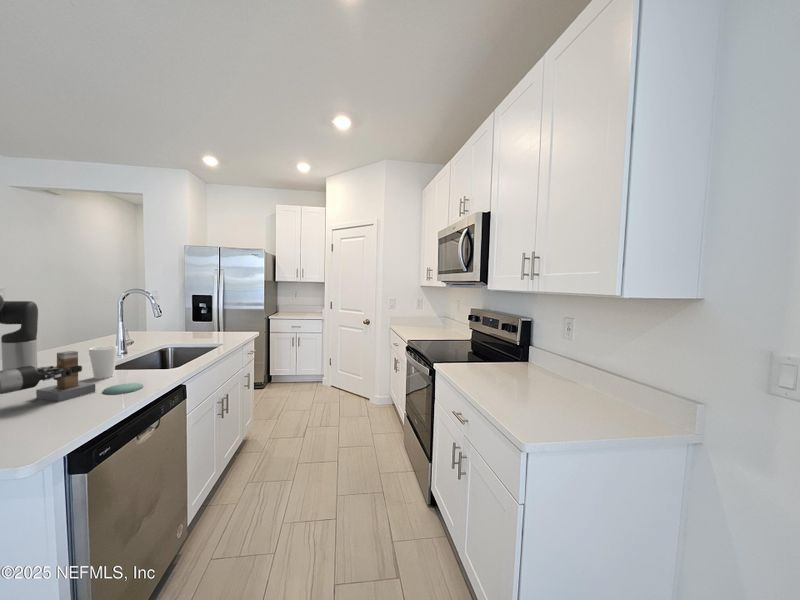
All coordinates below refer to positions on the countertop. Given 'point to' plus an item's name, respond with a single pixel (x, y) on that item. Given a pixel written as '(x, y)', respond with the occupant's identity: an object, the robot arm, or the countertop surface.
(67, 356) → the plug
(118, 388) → the mat
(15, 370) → the robot arm
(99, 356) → the foam cup
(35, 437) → the countertop surface
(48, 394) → the socket block
